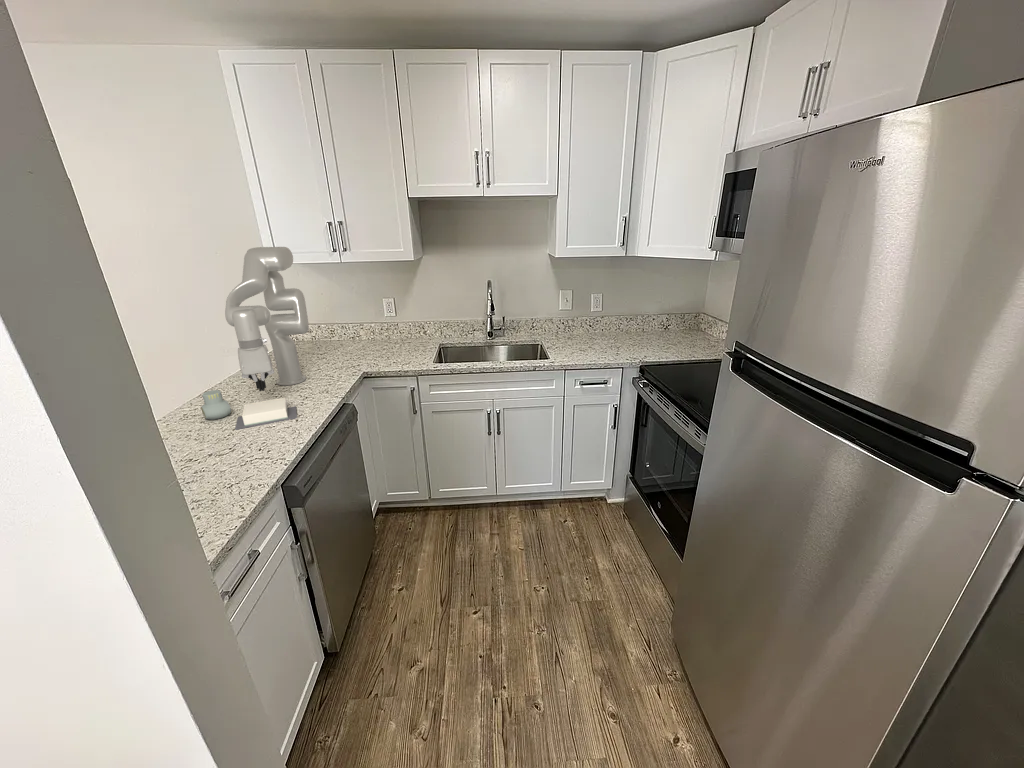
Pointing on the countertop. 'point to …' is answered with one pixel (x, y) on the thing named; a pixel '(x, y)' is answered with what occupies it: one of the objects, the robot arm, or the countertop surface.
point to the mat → (291, 415)
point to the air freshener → (215, 405)
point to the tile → (265, 411)
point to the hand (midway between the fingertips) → (262, 390)
